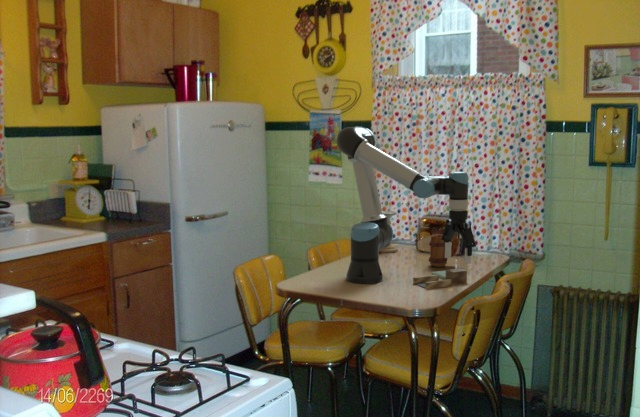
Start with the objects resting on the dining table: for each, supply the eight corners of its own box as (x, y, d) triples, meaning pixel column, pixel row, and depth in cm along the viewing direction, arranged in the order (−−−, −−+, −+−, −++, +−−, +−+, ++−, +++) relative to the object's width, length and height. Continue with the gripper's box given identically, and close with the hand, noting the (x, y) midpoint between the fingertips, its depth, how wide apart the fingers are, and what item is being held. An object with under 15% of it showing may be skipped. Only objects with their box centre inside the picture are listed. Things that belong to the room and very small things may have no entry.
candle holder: (385, 247, 344) (386, 210, 341) (402, 251, 334) (403, 212, 332) (369, 250, 336) (369, 212, 333) (386, 254, 326) (386, 214, 324)
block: (452, 284, 265) (452, 272, 265) (445, 281, 270) (445, 269, 269) (466, 282, 268) (466, 270, 268) (459, 280, 273) (459, 268, 272)
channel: (426, 288, 257) (426, 282, 257) (413, 283, 266) (413, 277, 266) (451, 285, 262) (451, 279, 262) (437, 280, 271) (437, 274, 271)
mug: (432, 268, 294) (433, 235, 292) (424, 264, 302) (425, 232, 300) (461, 266, 298) (462, 234, 296) (453, 263, 305) (454, 231, 304)
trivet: (445, 279, 273) (445, 276, 273) (431, 274, 282) (431, 271, 282) (464, 277, 277) (464, 274, 277) (450, 272, 286) (450, 269, 286)
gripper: (485, 212, 255) (484, 265, 258) (448, 205, 278) (447, 254, 281) (469, 213, 252) (469, 267, 255) (433, 207, 275) (432, 256, 277)
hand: (457, 260), depth 268 cm, fingers open, 13 cm apart
